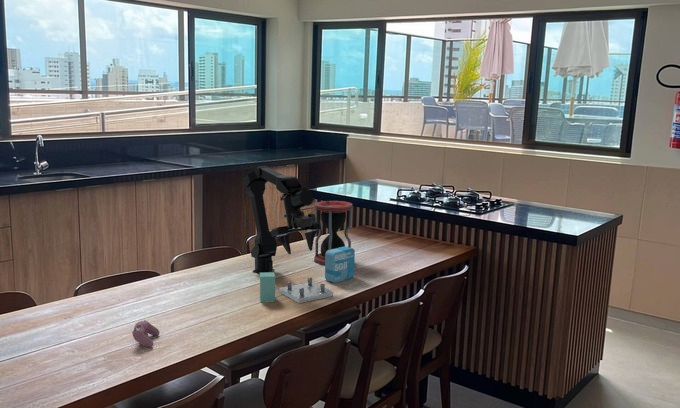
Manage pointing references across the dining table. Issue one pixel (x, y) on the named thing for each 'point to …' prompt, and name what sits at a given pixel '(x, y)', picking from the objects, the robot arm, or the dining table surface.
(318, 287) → the plate
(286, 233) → the robot arm
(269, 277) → the module box
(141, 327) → the video game controller
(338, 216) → the hourglass
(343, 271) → the blue printed box
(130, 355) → the dining table surface
